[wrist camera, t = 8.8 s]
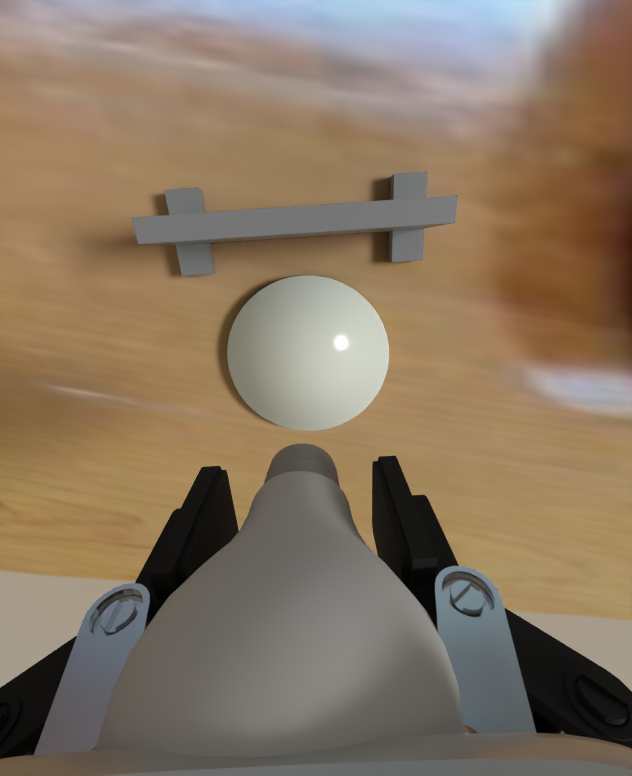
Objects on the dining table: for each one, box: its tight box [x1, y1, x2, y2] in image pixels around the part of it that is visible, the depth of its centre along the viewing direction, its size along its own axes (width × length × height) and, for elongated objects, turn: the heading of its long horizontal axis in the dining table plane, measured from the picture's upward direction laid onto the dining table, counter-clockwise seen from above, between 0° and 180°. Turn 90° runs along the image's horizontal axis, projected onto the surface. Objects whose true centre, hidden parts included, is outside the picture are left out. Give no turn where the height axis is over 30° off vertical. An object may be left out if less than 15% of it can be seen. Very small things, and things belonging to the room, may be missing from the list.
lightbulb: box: [96, 444, 464, 758], centre depth 8 cm, size 6×6×11 cm
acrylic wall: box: [132, 172, 457, 276], centre depth 19 cm, size 5×16×6 cm, turn 94°
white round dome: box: [227, 275, 389, 431], centre depth 25 cm, size 12×12×1 cm
